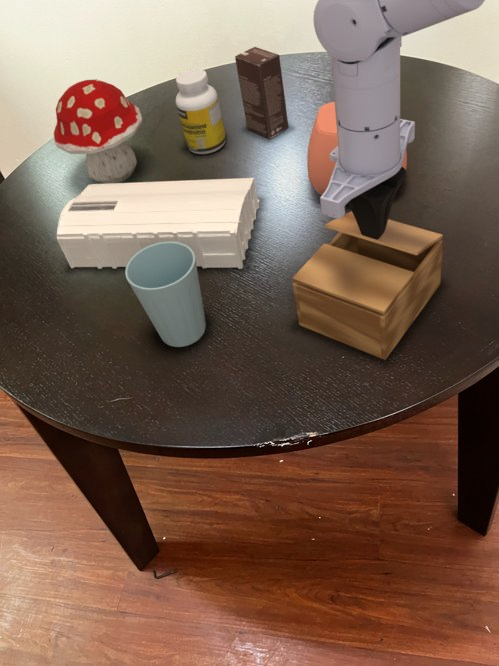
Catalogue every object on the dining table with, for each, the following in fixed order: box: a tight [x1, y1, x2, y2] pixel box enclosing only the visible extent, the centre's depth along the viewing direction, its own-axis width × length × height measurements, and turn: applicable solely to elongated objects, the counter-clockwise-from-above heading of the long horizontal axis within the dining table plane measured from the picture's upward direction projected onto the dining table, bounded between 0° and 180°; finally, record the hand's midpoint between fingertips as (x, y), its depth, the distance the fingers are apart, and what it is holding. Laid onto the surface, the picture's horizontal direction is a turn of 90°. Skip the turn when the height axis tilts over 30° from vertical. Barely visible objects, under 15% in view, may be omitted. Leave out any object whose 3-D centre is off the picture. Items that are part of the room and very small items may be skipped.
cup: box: [124, 241, 207, 348], centre depth 73 cm, size 8×8×10 cm
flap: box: [324, 210, 444, 255], centre depth 70 cm, size 6×11×1 cm, turn 53°
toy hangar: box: [56, 177, 260, 270], centre depth 88 cm, size 25×15×7 cm, turn 80°
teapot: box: [306, 100, 408, 196], centre depth 87 cm, size 13×20×12 cm, turn 174°
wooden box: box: [291, 231, 444, 361], centre depth 72 cm, size 13×11×7 cm
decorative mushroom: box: [53, 78, 143, 184], centre depth 98 cm, size 14×14×15 cm
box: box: [234, 46, 289, 140], centre depth 101 cm, size 6×4×12 cm
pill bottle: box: [175, 68, 227, 155], centre depth 100 cm, size 6×6×12 cm
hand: (372, 233), depth 68 cm, fingers closed
